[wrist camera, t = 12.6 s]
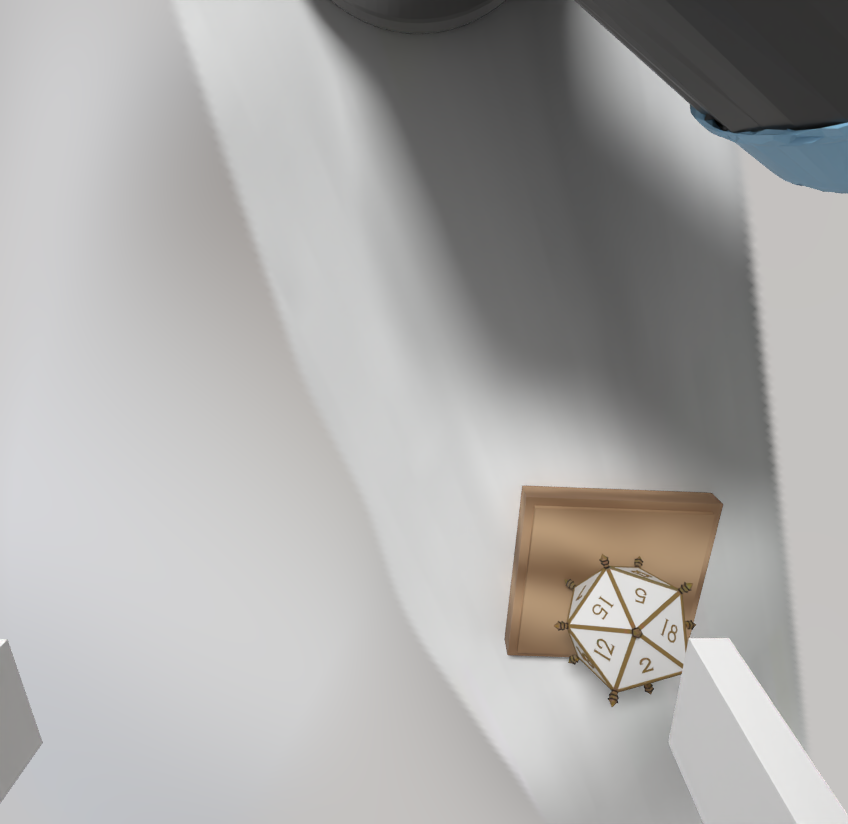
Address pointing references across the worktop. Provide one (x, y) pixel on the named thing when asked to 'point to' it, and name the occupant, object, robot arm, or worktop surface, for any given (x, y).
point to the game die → (627, 626)
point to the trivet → (600, 552)
